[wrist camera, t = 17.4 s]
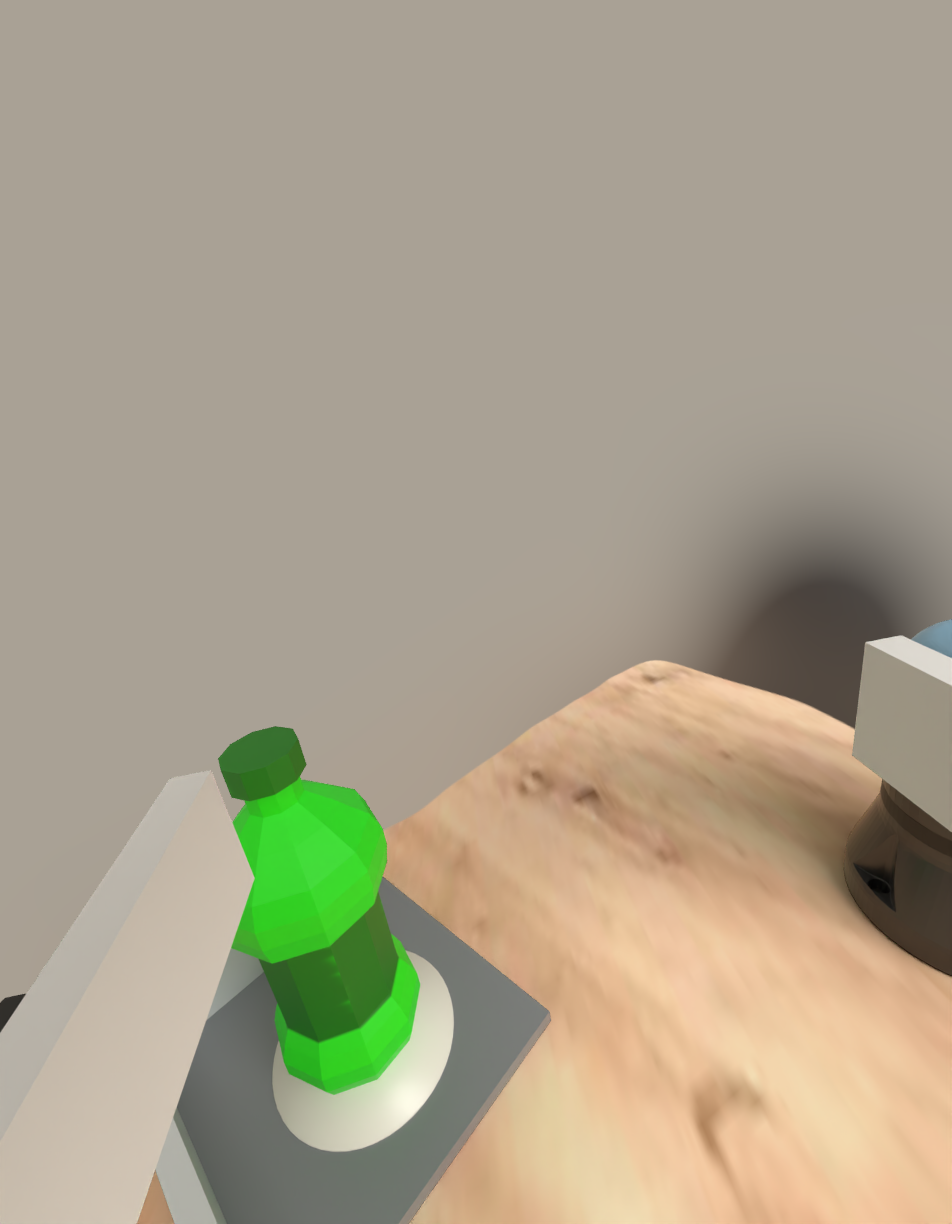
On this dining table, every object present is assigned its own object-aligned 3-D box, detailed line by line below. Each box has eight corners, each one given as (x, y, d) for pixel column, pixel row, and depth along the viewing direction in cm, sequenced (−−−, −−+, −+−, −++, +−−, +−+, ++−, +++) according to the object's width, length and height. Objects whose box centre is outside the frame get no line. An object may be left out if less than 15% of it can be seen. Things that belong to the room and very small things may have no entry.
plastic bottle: (293, 993, 42) (184, 725, 33) (424, 951, 44) (352, 685, 35) (278, 1151, 33) (121, 840, 24) (444, 1090, 35) (354, 778, 26)
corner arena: (372, 874, 54) (359, 827, 52) (550, 1020, 39) (541, 963, 37) (134, 1073, 40) (101, 1021, 38) (268, 1423, 25) (226, 1369, 23)
